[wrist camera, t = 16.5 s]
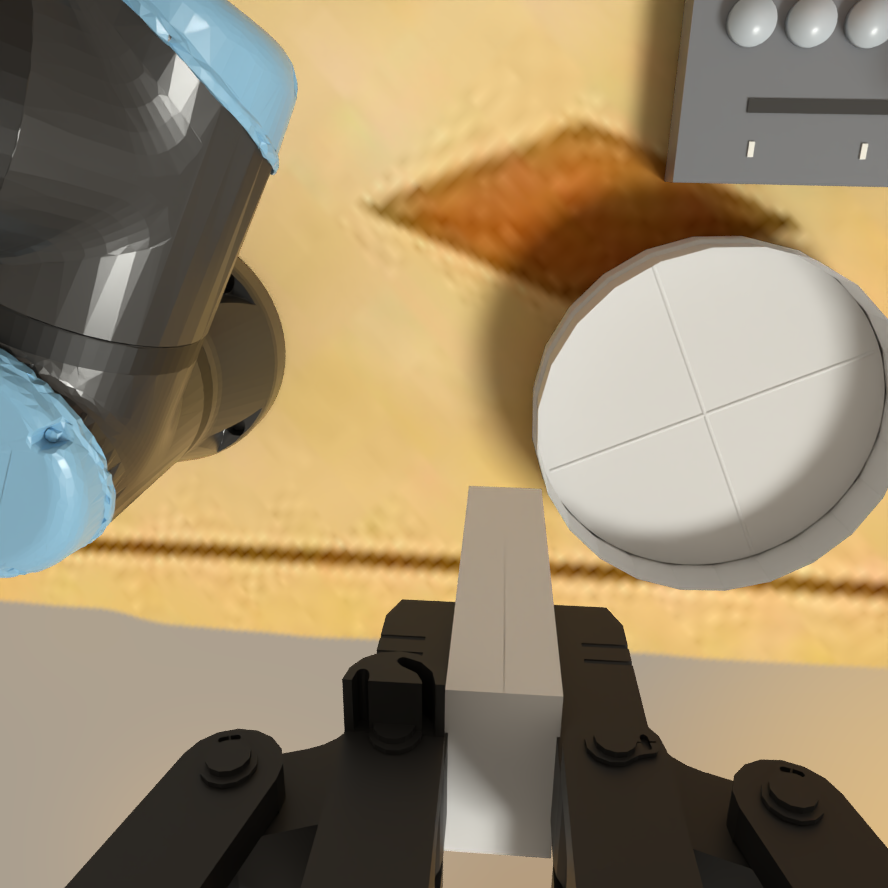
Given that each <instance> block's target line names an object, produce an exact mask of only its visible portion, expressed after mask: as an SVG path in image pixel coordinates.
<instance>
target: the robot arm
mask: <svg viewBox="0 0 888 888" xmlns="http://www.w3.org/2000/svg"><path fill="white" fill-rule="evenodd" d="M297 90H298V88H297V80H296V76H295V72H294V68H293V65H292V63H291V61H290V59H289V57H288V56H287V54H286V53H285V51H284V50H283V48H282V47H281V46H280V45H279V44H278V43H277V42H276V41H275V40H274V39H273V38H272V37H271V36H270V35H269V34H268V33H267V32H266V31H265V30H264V29H262V28H261V27H260V26H259V25H257V24H256V23H255V22H254V21H253V20H251V19H250V18H249V17H248V16H246V15H245V14H244V13H243V12H241V11H240V10H239V9H238V8H236V7H235V6H234V5H233V4H231V3H230V2H229V1H227V0H0V578H10V577H16V576H18V575H25V574H28V573H31V572H39V571H42V570H44V569H47V568H49V567H51V566H53V565H55V564H57V563H59V562H60V561H62V560H63V559H64V558H66V557H67V556H69V555H70V554H72V553H74V552H75V551H77V550H78V549H80V548H82V547H85V546H86V545H87V544H89V543H91V542H93V541H94V540H95V539H96V538H97V537H99V536H100V535H102V534H103V532H104V530H105V528H106V526H107V525H109V523H110V522H111V521H112V520H114V519H115V518H116V517H117V516H118V515H119V514H120V513H121V512H122V511H123V510H124V509H126V508H127V507H128V506H129V505H130V504H131V503H132V502H133V501H134V500H135V499H136V498H138V497H139V496H140V495H141V494H142V493H143V492H144V491H145V490H146V489H147V488H148V487H150V486H151V485H152V484H153V483H154V482H155V481H156V480H157V479H158V478H159V477H160V476H162V475H163V474H164V473H165V472H166V471H167V470H168V469H169V468H170V467H171V466H172V465H174V464H175V463H176V462H181V461H188V460H195V459H200V458H204V457H208V456H211V455H214V454H216V453H219V452H221V451H223V450H225V449H227V448H229V447H231V446H232V445H234V444H236V443H237V442H238V441H240V440H241V439H242V438H244V437H245V436H246V435H247V434H248V433H249V432H250V431H251V430H252V429H253V428H254V427H255V426H256V425H257V424H258V423H259V422H260V421H261V420H262V419H263V417H264V416H265V415H266V414H267V412H268V411H269V410H270V408H271V406H272V405H273V403H274V401H275V399H276V397H277V395H278V392H279V389H280V386H281V383H282V379H283V375H284V368H285V341H284V335H283V330H282V325H281V322H280V319H279V316H278V313H277V310H276V308H275V306H274V304H273V302H272V299H271V298H270V296H269V294H268V292H267V291H266V289H265V288H264V286H263V284H262V283H261V282H260V280H259V279H258V278H257V276H256V275H255V274H254V273H253V272H252V271H251V270H250V268H249V267H248V266H247V265H246V264H245V263H244V262H242V261H241V260H240V259H239V258H238V254H239V252H240V249H241V247H242V244H243V242H244V239H245V236H246V234H247V231H248V229H249V226H250V224H251V221H252V219H253V216H254V213H255V211H256V208H257V206H258V203H259V201H260V198H261V195H262V193H263V190H264V188H265V185H266V183H267V180H268V178H269V175H270V174H271V175H275V174H276V172H277V170H278V168H279V158H278V152H279V150H280V147H281V144H282V141H283V138H284V135H285V132H286V129H287V126H288V123H289V120H290V117H291V114H292V112H293V109H294V106H295V102H296V98H297ZM342 682H343V703H344V726H345V732H344V734H342V735H341V736H340V737H338V738H337V739H335V740H333V741H330V742H328V743H326V744H324V745H321V746H317V747H314V748H310V749H305V750H300V751H294V752H289V753H284V754H282V749H281V748H280V747H279V745H278V744H277V743H276V741H275V740H274V739H273V738H272V737H270V736H268V735H266V734H264V733H261V732H259V731H256V730H245V729H235V730H230V731H224V732H219V733H216V734H214V735H212V736H209V737H207V738H205V739H203V740H200V741H199V742H198V743H196V744H195V745H194V746H193V747H191V748H190V749H189V750H188V751H187V752H185V753H184V754H183V755H182V756H181V758H180V759H179V760H178V761H177V762H176V763H175V764H174V765H173V767H172V768H171V769H170V770H169V771H168V772H167V773H166V774H165V776H164V777H163V778H162V779H161V780H160V781H159V782H158V783H157V784H156V786H155V787H154V788H153V789H152V790H151V791H150V792H149V793H148V795H147V796H146V797H145V798H144V799H143V800H142V801H141V802H140V804H139V805H138V806H137V807H136V808H135V809H134V810H133V812H132V813H131V814H130V815H129V816H128V817H127V818H126V819H125V821H124V822H123V823H122V824H121V825H120V826H119V827H118V828H117V829H116V831H115V832H114V833H113V834H112V835H111V836H110V837H109V838H108V840H107V841H106V842H105V843H104V844H103V845H102V846H101V847H100V849H99V850H98V851H97V852H96V853H95V855H93V856H92V857H91V859H90V860H89V861H88V862H87V863H86V864H85V865H84V866H83V868H82V869H81V870H80V871H79V872H78V873H77V874H76V876H75V877H74V878H73V879H72V880H71V881H70V882H69V883H68V884H67V886H66V887H65V888H442V887H443V851H457V852H471V853H485V854H499V855H513V856H526V857H540V858H551V848H552V852H553V873H552V887H551V888H888V848H887V847H886V846H885V845H884V844H883V842H882V841H881V840H880V839H879V837H877V835H876V834H875V833H874V831H873V830H872V829H871V828H870V827H869V825H867V823H866V822H865V821H864V819H863V818H862V817H861V816H860V815H859V814H858V812H857V811H856V810H855V809H854V807H853V806H852V805H851V804H850V803H849V802H848V800H847V799H846V798H845V797H844V795H843V794H842V793H840V791H838V790H837V789H836V788H835V787H834V786H833V785H832V784H831V783H829V781H827V780H826V779H825V778H823V777H822V776H820V775H818V774H816V773H814V772H812V771H811V770H809V769H807V768H805V767H802V766H799V765H796V764H792V763H789V762H786V761H782V760H758V761H755V762H752V763H748V764H745V765H744V766H743V767H742V768H741V769H740V770H739V771H738V772H737V773H736V774H735V775H734V780H733V781H731V780H728V779H725V778H721V777H718V776H715V775H712V774H709V773H705V772H702V771H699V770H697V769H694V768H692V767H689V766H687V765H685V764H683V763H682V762H680V761H678V760H676V759H675V758H673V757H671V756H670V755H669V754H668V753H667V751H666V749H665V747H664V745H663V744H662V741H661V739H660V738H659V736H658V735H657V734H655V733H654V732H653V731H652V730H651V729H650V728H649V727H648V725H647V721H646V717H645V713H644V709H643V705H642V701H641V697H640V693H639V689H638V685H637V681H636V677H635V673H634V669H633V666H632V661H631V657H630V653H629V649H628V645H627V641H626V637H625V633H624V629H623V625H622V624H621V623H620V622H619V621H618V620H617V619H616V618H615V617H614V616H613V615H612V613H611V612H610V611H609V610H608V609H607V608H603V607H583V606H563V605H554V604H553V594H552V585H551V575H550V566H549V556H548V547H547V537H546V528H545V518H544V509H543V499H542V490H541V489H531V488H506V487H481V486H469V491H468V500H467V508H466V517H465V525H464V534H463V542H462V551H461V560H460V568H459V577H458V585H457V594H456V602H442V601H422V600H401V601H400V602H399V603H398V604H397V605H396V606H395V607H394V608H393V609H392V610H391V611H390V612H389V613H388V614H387V615H386V618H385V622H384V625H383V629H382V633H381V638H380V640H379V644H378V648H377V654H374V655H371V656H368V657H365V658H363V659H361V660H360V661H359V662H357V663H355V664H354V665H353V666H351V667H350V668H349V670H348V671H347V673H346V674H345V676H344V677H343V679H342Z"/></svg>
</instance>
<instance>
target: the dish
mask: <svg viewBox="0 0 888 888" xmlns="http://www.w3.org/2000/svg"><path fill="white" fill-rule="evenodd" d="M532 440H533V443H534V447H535V451H536V455H537V458H538V462H539V466H540V470H541V474H542V477H543V480H544V481H545V485H546V488H547V492H548V495H549V497H550V498H551V500H552V502H553V503H554V505H555V507H556V508H557V510H558V512H559V513H560V515H561V516H562V518H563V520H564V521H565V523H566V525H567V526H568V528H569V530H570V531H571V532H572V533H573V534H575V535H576V536H577V537H578V538H579V539H580V540H581V541H582V542H583V543H584V544H585V545H586V546H587V547H588V548H589V549H591V550H592V551H593V552H594V553H595V554H596V555H597V556H598V557H599V558H600V559H602V560H604V561H606V562H607V563H609V564H611V565H613V566H615V567H617V568H618V569H620V570H622V571H624V572H626V573H628V574H630V575H631V576H633V577H635V578H637V579H640V580H644V581H648V582H652V583H656V584H660V585H664V586H668V587H672V588H676V589H680V590H722V591H725V590H730V589H736V588H741V587H746V586H751V585H756V584H761V583H766V582H771V581H773V580H775V579H777V578H780V577H782V576H784V575H786V574H789V573H791V572H793V571H795V570H798V569H800V568H802V567H804V566H807V565H809V564H811V563H813V562H815V561H816V560H818V559H819V558H820V557H822V556H823V555H824V554H826V553H827V552H828V551H830V550H831V549H832V548H834V547H835V546H837V545H838V544H839V543H841V542H842V541H843V540H845V539H846V538H847V537H849V536H850V535H852V533H853V532H854V531H855V530H856V529H857V528H858V527H859V525H860V524H861V523H862V522H863V521H864V520H865V518H866V517H867V516H868V515H869V514H870V513H871V511H872V510H873V509H874V508H875V507H876V506H877V504H878V503H879V502H880V501H881V500H882V499H883V497H884V495H885V493H886V491H887V489H888V319H887V318H886V317H885V315H884V314H883V313H882V312H881V311H880V310H879V309H878V307H877V306H876V305H875V304H874V303H873V302H872V301H871V300H870V298H869V297H868V296H867V295H866V294H865V293H864V292H863V290H862V289H861V288H860V287H859V286H858V285H857V284H855V283H853V282H852V281H850V280H848V279H847V278H845V277H843V276H842V275H840V274H839V273H837V272H835V271H834V270H832V269H830V268H829V267H827V266H825V265H824V264H822V263H820V262H819V261H817V260H815V259H813V258H811V257H809V256H808V255H806V254H804V253H803V252H801V251H799V250H795V249H791V248H787V247H783V246H779V245H775V244H772V243H768V242H764V241H760V240H756V239H752V238H748V237H744V236H701V237H690V238H686V239H683V240H679V241H675V242H672V243H668V244H664V245H661V246H657V247H654V248H650V249H646V250H644V251H642V252H641V253H639V254H637V255H636V256H634V257H632V258H630V259H629V260H627V261H625V262H623V263H622V264H620V265H618V266H617V267H615V268H613V269H611V270H610V271H608V272H606V273H604V274H603V275H602V276H601V277H600V278H599V279H598V280H597V281H596V282H595V283H594V284H593V285H592V286H591V287H590V288H588V289H587V290H586V291H585V292H584V293H583V294H582V295H581V296H580V297H579V298H578V299H577V300H576V301H575V302H574V303H573V304H572V305H571V306H570V307H569V308H568V310H567V312H566V313H565V315H564V316H563V318H562V320H561V321H560V323H559V325H558V326H557V328H556V329H555V331H554V333H553V334H552V336H551V338H550V339H549V341H548V342H547V344H546V346H545V349H544V352H543V355H542V359H541V362H540V366H539V369H538V373H537V376H536V379H535V383H534V386H533V426H532Z"/></svg>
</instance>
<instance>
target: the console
mask: <svg viewBox="0 0 888 888" xmlns="http://www.w3.org/2000/svg"><path fill="white" fill-rule="evenodd" d="M664 181H666V182H683V183H728V184H773V185H818V186H862V187H888V0H685V4H684V13H683V22H682V30H681V39H680V48H679V57H678V66H677V75H676V83H675V92H674V101H673V110H672V119H671V127H670V136H669V145H668V154H667V163H666V172H665V180H664Z"/></svg>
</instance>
